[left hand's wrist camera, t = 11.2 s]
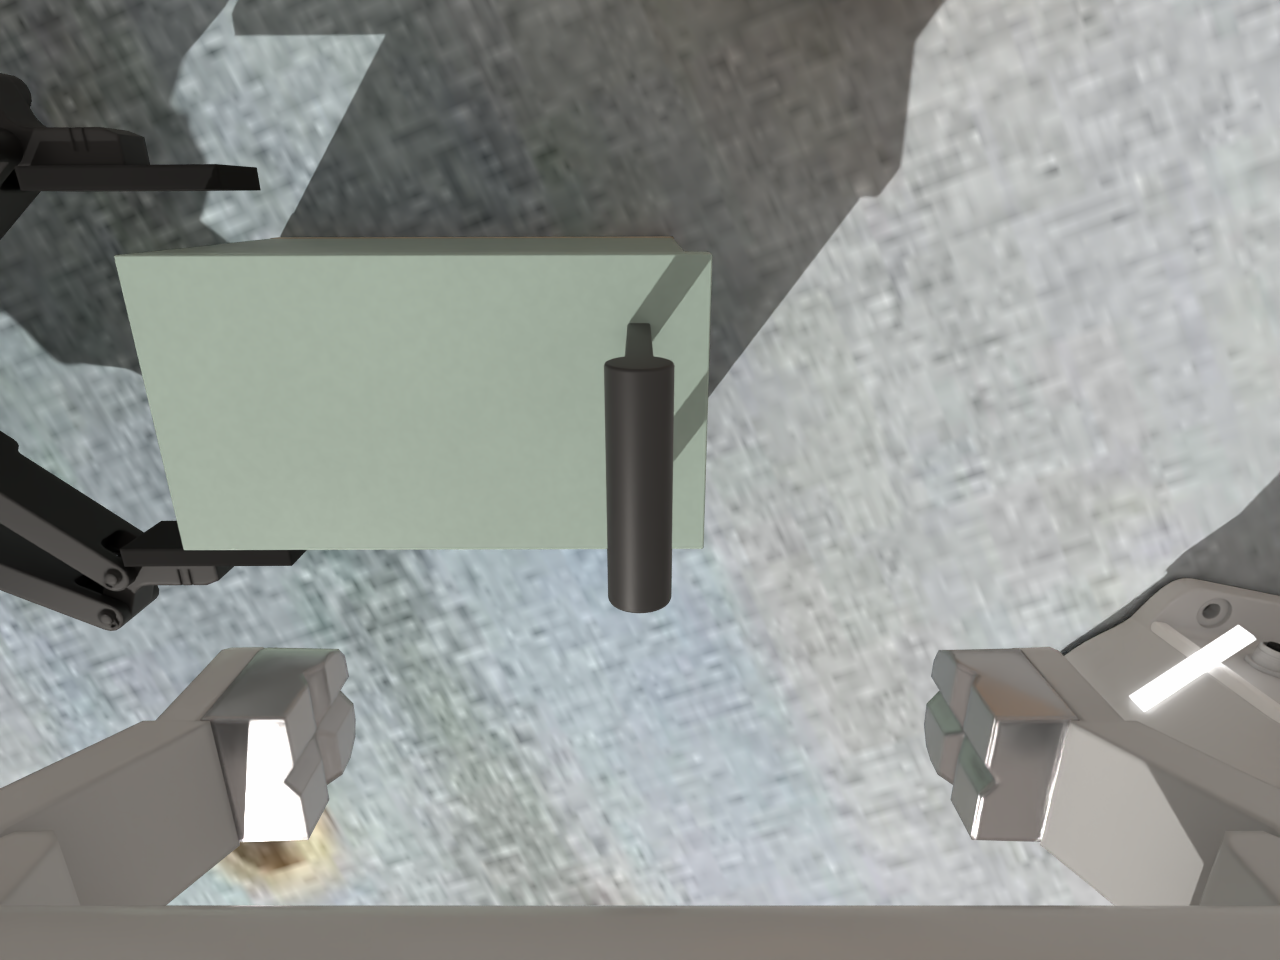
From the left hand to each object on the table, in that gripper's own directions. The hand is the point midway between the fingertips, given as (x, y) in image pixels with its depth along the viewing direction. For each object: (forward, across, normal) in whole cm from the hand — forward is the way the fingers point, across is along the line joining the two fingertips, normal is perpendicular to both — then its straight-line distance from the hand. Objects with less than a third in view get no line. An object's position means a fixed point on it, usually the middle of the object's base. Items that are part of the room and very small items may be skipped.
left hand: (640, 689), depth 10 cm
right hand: (+19, +14, 0) cm, 23 cm away
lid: (+15, +7, 0) cm, 17 cm away
